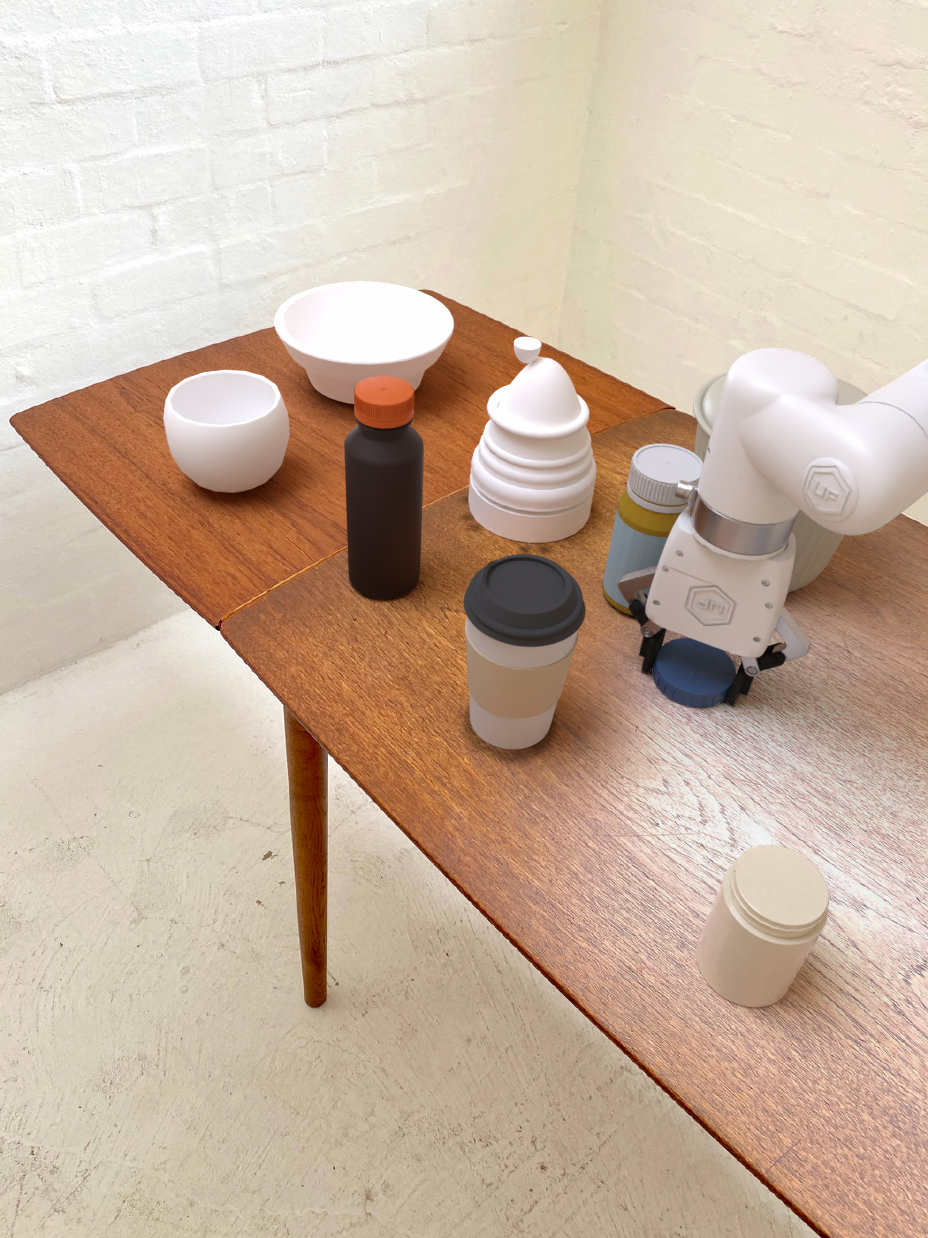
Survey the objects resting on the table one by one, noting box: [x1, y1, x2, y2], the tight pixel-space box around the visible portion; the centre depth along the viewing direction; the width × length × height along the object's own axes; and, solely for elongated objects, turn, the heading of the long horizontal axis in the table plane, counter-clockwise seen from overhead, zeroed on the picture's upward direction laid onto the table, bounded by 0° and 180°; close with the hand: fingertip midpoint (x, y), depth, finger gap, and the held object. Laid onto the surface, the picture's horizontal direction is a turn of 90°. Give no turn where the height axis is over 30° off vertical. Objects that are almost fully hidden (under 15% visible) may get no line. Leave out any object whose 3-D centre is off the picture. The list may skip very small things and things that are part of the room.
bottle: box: [601, 443, 703, 617], centre depth 88 cm, size 7×7×15 cm
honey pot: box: [467, 336, 598, 544], centre depth 97 cm, size 13×13×18 cm
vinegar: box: [343, 376, 425, 600], centre depth 86 cm, size 7×7×20 cm
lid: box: [651, 637, 737, 709], centre depth 85 cm, size 7×7×2 cm
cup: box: [162, 369, 291, 494], centre depth 101 cm, size 12×12×10 cm
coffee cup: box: [462, 553, 587, 750], centre depth 76 cm, size 9×9×15 cm
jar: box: [695, 844, 830, 1008], centre depth 63 cm, size 6×6×10 cm
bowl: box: [273, 281, 455, 405], centre depth 118 cm, size 21×21×8 cm
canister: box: [692, 371, 869, 594], centre depth 91 cm, size 18×18×21 cm
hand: (691, 677), depth 85 cm, fingers open, 7 cm apart
